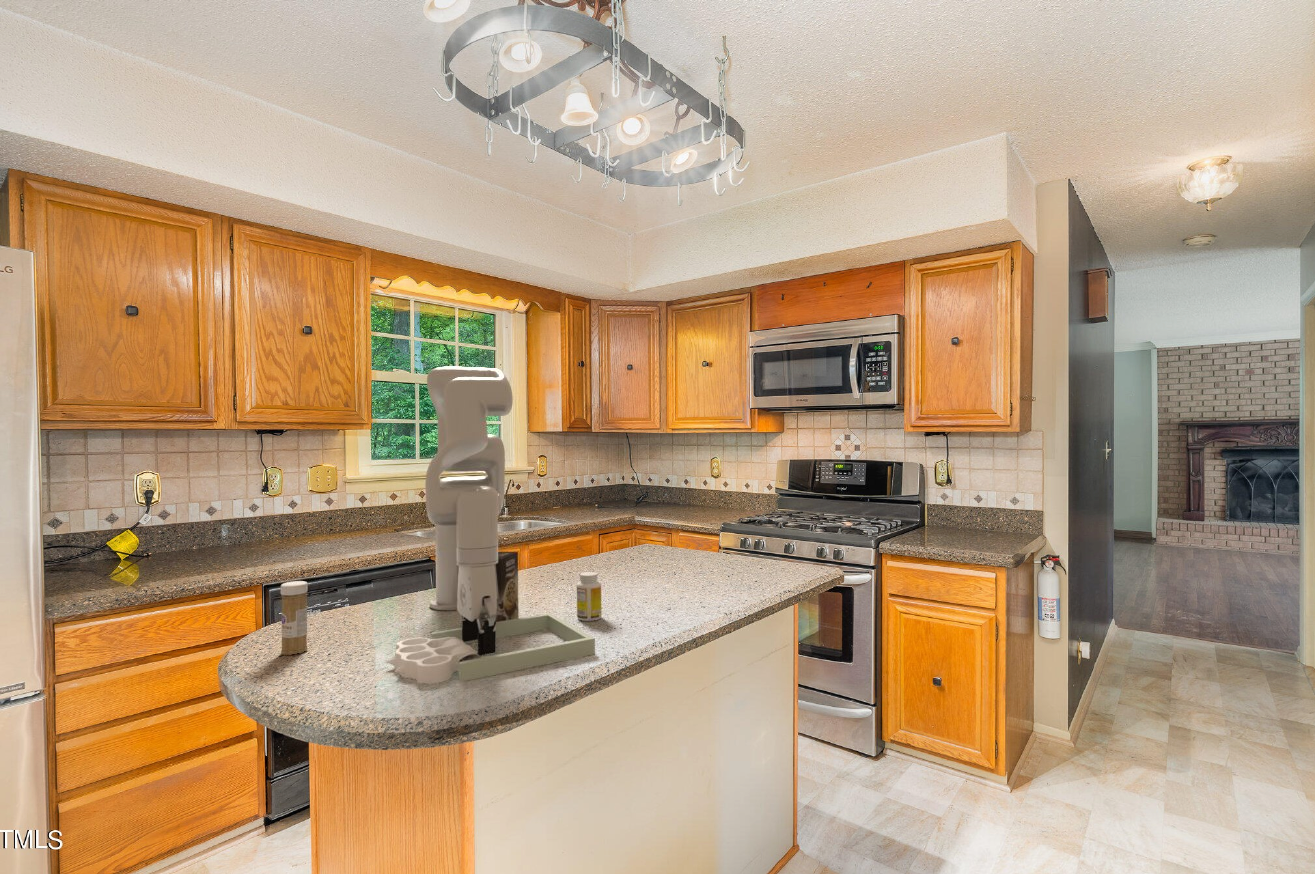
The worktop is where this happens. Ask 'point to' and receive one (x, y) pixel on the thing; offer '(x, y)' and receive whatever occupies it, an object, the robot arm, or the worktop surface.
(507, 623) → the green rectangular frame
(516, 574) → the coffee box
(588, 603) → the supplement bottle
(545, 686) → the worktop surface
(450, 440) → the robot arm
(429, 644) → the white brass knuckles
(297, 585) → the sprinkles bottle
